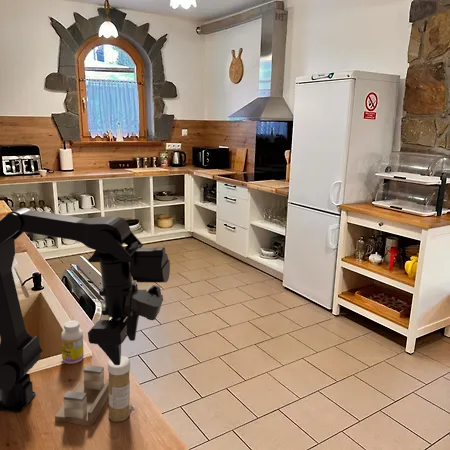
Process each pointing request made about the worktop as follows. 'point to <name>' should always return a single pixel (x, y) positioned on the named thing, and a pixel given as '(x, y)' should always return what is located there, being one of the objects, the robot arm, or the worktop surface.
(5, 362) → the robot arm
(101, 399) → the walnut spice rack
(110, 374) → the sprinkles bottle
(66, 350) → the supplement bottle
